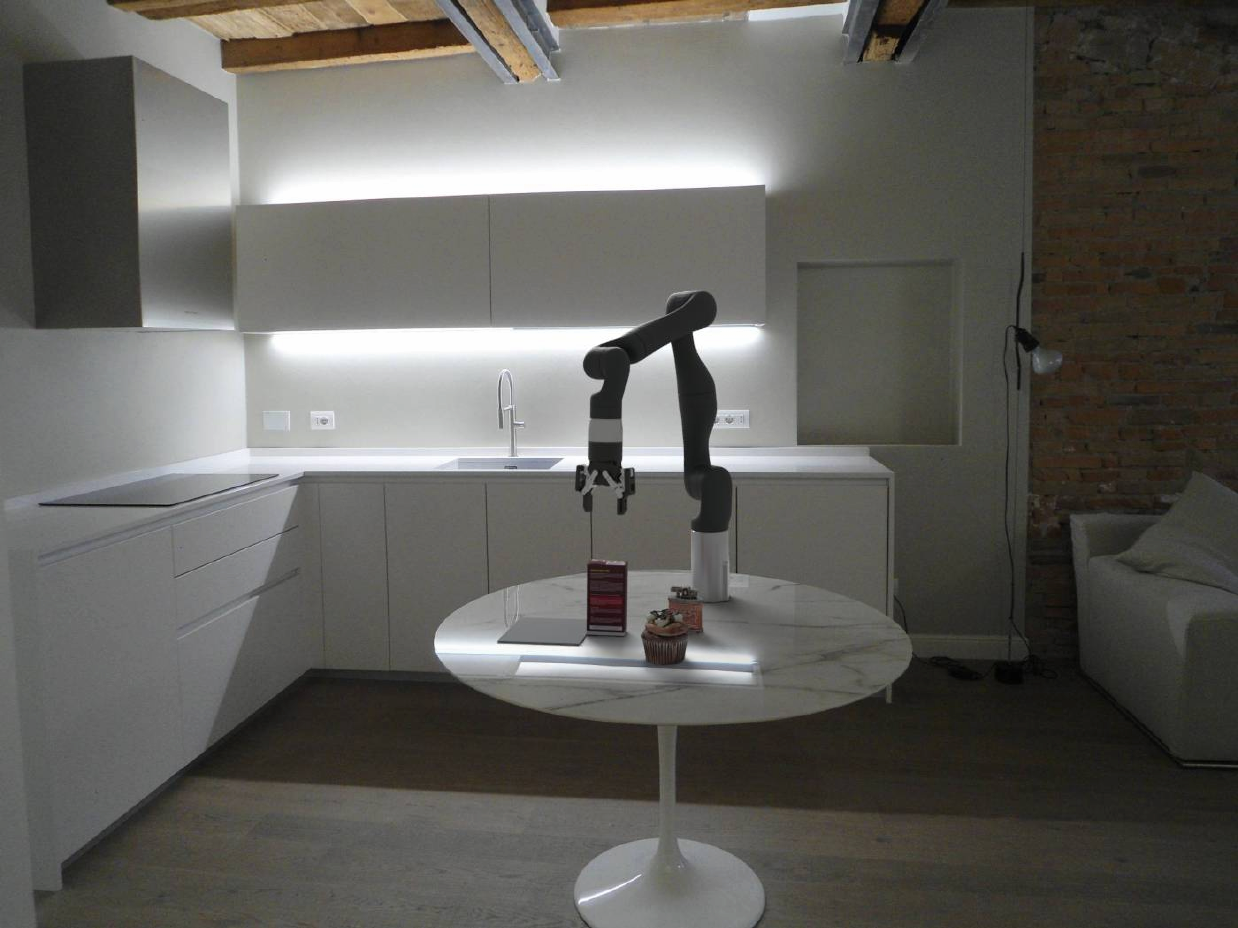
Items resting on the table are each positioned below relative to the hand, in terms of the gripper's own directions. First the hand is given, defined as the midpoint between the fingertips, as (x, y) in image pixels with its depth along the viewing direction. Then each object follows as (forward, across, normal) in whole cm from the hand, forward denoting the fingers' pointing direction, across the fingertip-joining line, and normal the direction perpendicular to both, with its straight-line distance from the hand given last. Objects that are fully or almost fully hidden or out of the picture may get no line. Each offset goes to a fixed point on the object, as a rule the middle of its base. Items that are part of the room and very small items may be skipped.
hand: (604, 513), depth 205 cm
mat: (+26, +10, +7) cm, 29 cm away
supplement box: (+26, -2, +2) cm, 26 cm away
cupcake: (+27, -22, +10) cm, 36 cm away
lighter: (+26, -16, -8) cm, 32 cm away
